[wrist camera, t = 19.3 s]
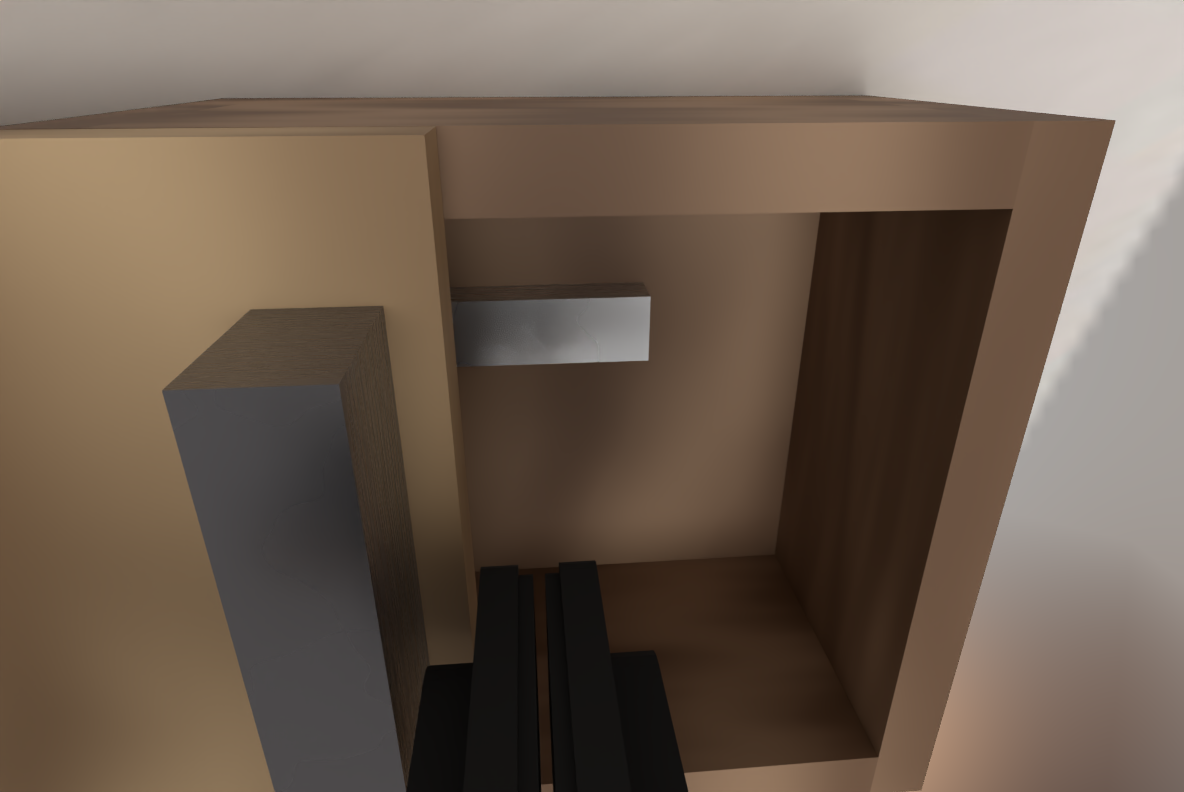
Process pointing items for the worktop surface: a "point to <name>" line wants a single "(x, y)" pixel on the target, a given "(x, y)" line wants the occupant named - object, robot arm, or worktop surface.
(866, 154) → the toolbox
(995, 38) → the worktop surface
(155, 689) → the lid
